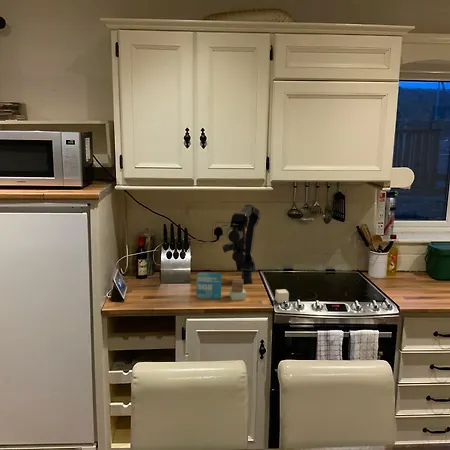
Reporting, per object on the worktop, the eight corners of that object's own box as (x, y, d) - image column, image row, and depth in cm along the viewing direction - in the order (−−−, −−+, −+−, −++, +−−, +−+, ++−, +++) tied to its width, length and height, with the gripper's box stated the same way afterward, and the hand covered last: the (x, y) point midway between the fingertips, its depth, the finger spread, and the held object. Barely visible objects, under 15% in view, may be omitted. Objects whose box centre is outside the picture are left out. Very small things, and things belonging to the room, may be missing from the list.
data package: (196, 298, 226) (196, 274, 224) (196, 295, 230) (197, 272, 228) (220, 299, 226) (221, 275, 223) (221, 296, 230) (221, 272, 228)
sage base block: (229, 296, 231) (229, 288, 230) (243, 295, 232) (243, 287, 231) (231, 301, 224) (231, 293, 224) (246, 300, 225) (246, 292, 225)
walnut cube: (233, 288, 230) (233, 278, 229) (243, 288, 230) (243, 279, 229) (232, 291, 226) (232, 281, 225) (242, 292, 225) (242, 282, 224)
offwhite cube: (275, 299, 227) (275, 289, 226) (285, 299, 228) (285, 289, 227) (278, 303, 222) (278, 293, 221) (288, 302, 223) (288, 292, 222)
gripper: (224, 233, 242) (224, 262, 245) (222, 241, 224) (221, 273, 227) (246, 234, 242) (245, 263, 245) (245, 242, 223) (244, 273, 226)
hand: (238, 268), depth 236 cm, fingers open, 9 cm apart
